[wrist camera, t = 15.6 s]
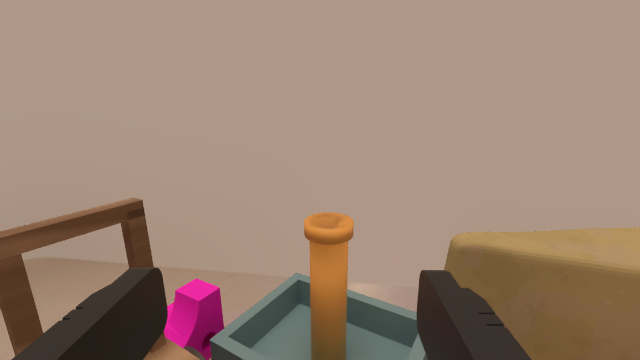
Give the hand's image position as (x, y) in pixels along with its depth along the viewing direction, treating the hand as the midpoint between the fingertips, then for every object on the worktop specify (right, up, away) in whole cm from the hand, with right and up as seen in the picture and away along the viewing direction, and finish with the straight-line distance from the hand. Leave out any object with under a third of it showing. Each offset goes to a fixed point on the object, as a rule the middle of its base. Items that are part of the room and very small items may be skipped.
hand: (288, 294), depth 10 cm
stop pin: (+2, -15, +22) cm, 26 cm away
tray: (+2, -16, +22) cm, 27 cm away
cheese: (+23, -16, +20) cm, 34 cm away
